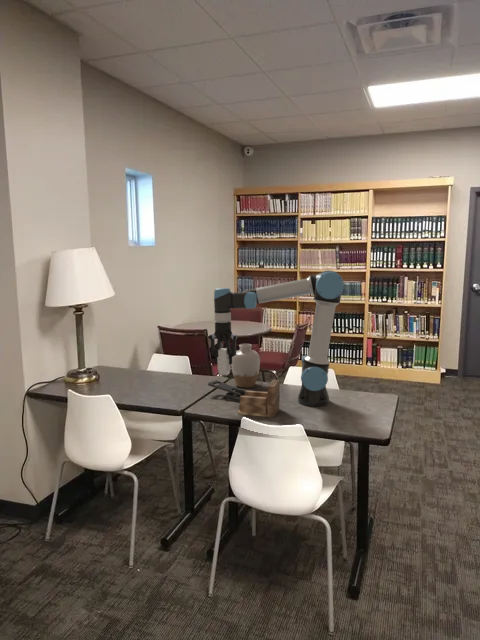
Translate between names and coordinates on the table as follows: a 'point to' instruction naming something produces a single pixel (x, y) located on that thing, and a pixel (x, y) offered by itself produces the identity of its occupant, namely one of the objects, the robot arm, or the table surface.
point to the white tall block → (223, 361)
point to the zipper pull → (229, 390)
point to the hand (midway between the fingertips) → (224, 370)
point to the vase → (245, 366)
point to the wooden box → (261, 401)
